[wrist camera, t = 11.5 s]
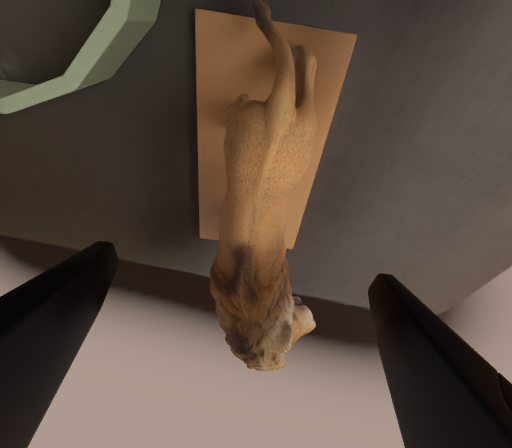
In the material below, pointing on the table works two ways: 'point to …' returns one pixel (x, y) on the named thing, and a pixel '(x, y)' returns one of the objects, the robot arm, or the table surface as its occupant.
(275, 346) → the lion figurine
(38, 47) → the table surface
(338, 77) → the cork mat
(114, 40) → the pale green faceted ring
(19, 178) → the table surface
